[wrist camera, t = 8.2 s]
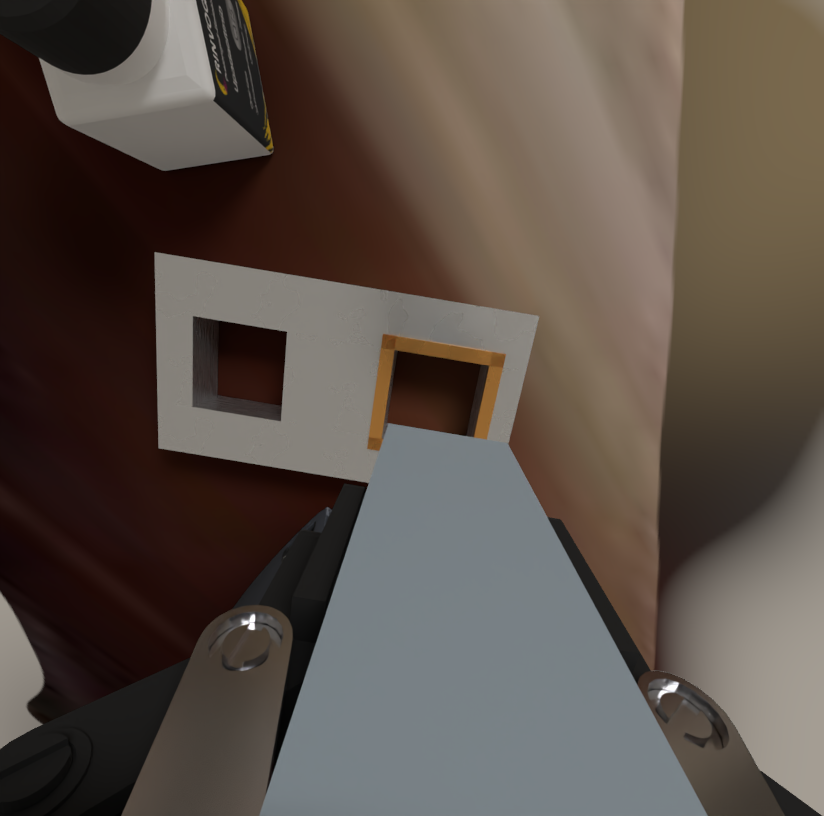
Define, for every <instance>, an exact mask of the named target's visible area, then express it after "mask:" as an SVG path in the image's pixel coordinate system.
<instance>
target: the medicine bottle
mask: <svg viewBox="0 0 824 816" xmlns="http://www.w3.org/2000/svg"><path fill="white" fill-rule="evenodd" d="M0 34H1V35H3V36H4V37H6V38H8V39H9V40H11V41H13V42H14V43H16V44H18V45H19V46H21V47H22V48H24V49H26V50H27V51H29V52H31V53H32V54H34V55H35V56H37V57H39V60H40V63H41V66H42V69H43V73H44V76H45V79H46V82H47V86H48V89H49V92H50V95H51V99H52V102H53V105H54V108H55V111H56V115H57V117H58V119H59V120H60V121H61V122H63V123H64V124H65V125H67V126H69V127H71V128H73V129H75V130H77V131H80V132H82V133H84V134H86V135H88V136H90V137H92V138H94V139H96V140H99V141H101V142H103V143H105V144H107V145H109V146H111V147H113V148H115V149H118V150H120V151H122V152H124V153H126V154H128V155H130V156H132V157H134V158H137V159H139V160H141V161H143V162H145V163H147V164H149V165H151V166H153V167H156V168H158V169H160V170H163V171H168V170H175V169H181V168H188V167H194V166H201V165H207V164H214V163H220V162H227V161H233V160H239V159H246V158H252V157H259V156H265V155H270V154H272V152H273V143H272V138H271V132H270V127H269V122H268V116H267V111H266V106H265V100H264V95H263V90H262V84H261V79H260V73H259V68H258V63H257V57H256V52H255V47H254V41H253V36H252V31H251V25H250V20H249V15H248V11H247V9H246V7H245V5H244V4H243V2H242V0H0Z"/></svg>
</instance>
